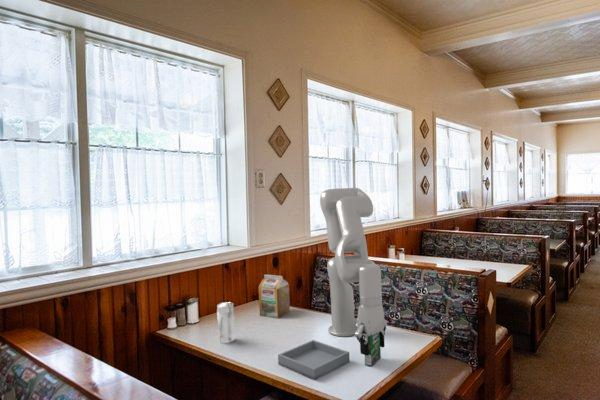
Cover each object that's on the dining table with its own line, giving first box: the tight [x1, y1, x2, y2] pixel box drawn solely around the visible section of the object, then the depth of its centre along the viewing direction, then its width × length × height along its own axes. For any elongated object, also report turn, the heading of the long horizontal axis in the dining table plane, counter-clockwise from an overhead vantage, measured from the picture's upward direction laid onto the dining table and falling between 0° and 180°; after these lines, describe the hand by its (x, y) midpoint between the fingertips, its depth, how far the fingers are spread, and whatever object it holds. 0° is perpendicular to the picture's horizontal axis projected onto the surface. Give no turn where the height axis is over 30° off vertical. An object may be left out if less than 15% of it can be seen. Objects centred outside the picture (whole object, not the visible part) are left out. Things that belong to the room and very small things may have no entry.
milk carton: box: [258, 274, 291, 319], centre depth 201 cm, size 11×11×19 cm
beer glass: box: [216, 301, 236, 344], centre depth 169 cm, size 7×7×15 cm
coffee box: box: [363, 329, 382, 367], centre depth 143 cm, size 8×3×13 cm, turn 146°
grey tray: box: [277, 339, 351, 381], centre depth 144 cm, size 18×18×4 cm
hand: (372, 350), depth 143 cm, fingers closed on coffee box, 8 cm apart
